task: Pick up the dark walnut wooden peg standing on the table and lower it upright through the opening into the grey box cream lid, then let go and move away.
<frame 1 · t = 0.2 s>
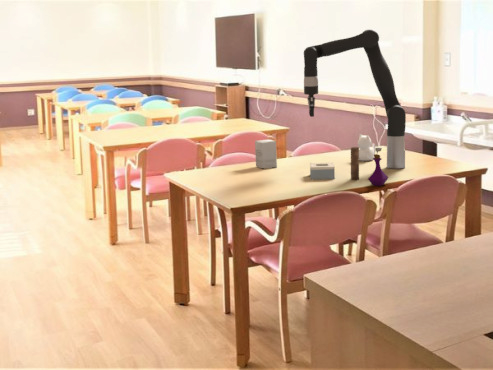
hand: (311, 115, 382), 29 cm above the table, fingers open, 8 cm apart
walnut peg: (354, 179, 358), on the table
perfume bottle: (378, 185, 343), on the table
cat figurine: (366, 160, 410), on the table
supplement box: (266, 167, 398), on the table
grey box cream lid: (322, 176, 367), on the table
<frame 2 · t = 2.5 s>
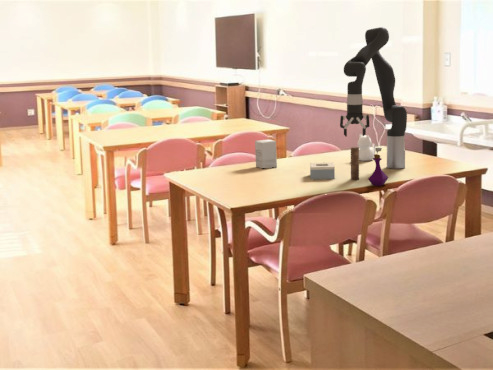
hand: (354, 136, 353), 22 cm above the table, fingers open, 8 cm apart
nothing on the table moved.
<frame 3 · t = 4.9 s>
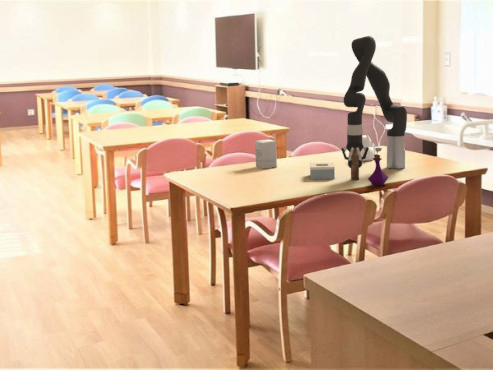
hand: (354, 167, 356), 6 cm above the table, fingers closed on walnut peg, 4 cm apart
walnut peg: (354, 179, 358), on the table, touching gripper
everything else where it was.
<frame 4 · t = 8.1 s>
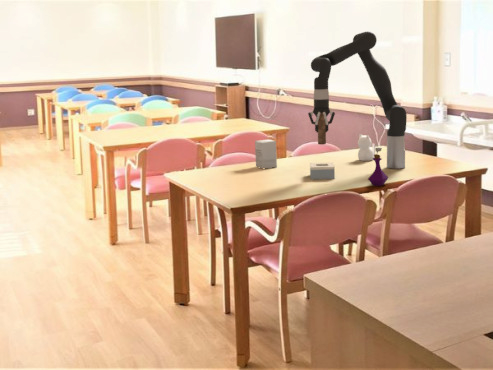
hand: (321, 132, 362), 23 cm above the table, fingers closed on walnut peg, 4 cm apart
walnut peg: (321, 143, 363), point 17 cm above the table, touching gripper
everything else where it was.
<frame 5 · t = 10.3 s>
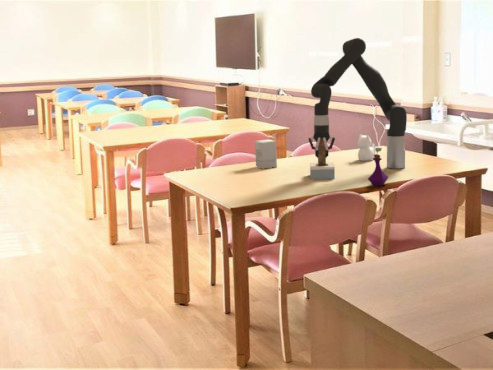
hand: (321, 157, 365), 10 cm above the table, fingers closed on walnut peg, 4 cm apart
walnut peg: (321, 168, 366), point 4 cm above the table, touching gripper
everything else where it was.
when the fingers open (7 cm above the table, at t = 11.7 s): walnut peg drops 1 cm, resting in grey box cream lid.
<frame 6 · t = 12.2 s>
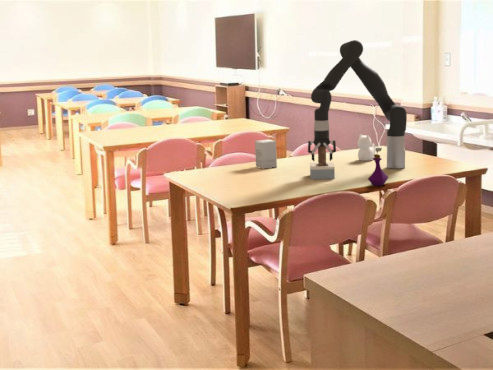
hand: (322, 160, 365), 8 cm above the table, fingers open, 8 cm apart
walnut peg: (322, 176, 367), resting in grey box cream lid
everything else where it was.
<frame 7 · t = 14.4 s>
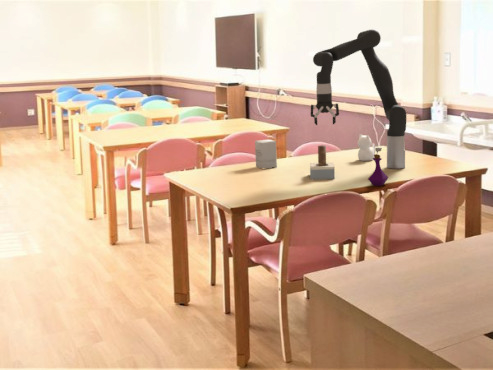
hand: (325, 124, 362), 27 cm above the table, fingers open, 8 cm apart
nothing on the table moved.
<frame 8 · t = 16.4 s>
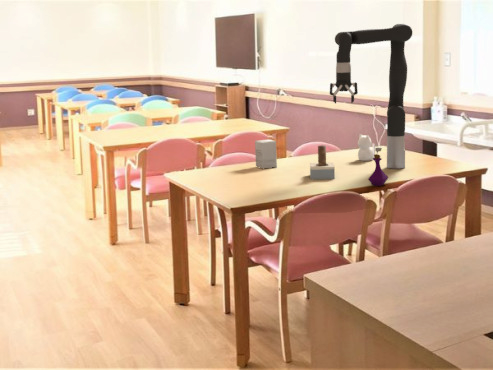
hand: (343, 103, 372), 36 cm above the table, fingers open, 8 cm apart
nothing on the table moved.
at the end: walnut peg 0.1 cm off-centre on the grey box cream lid, point 0.0 cm above the grey box cream lid's base; walnut peg tilted 0°; the gripper is holding nothing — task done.
